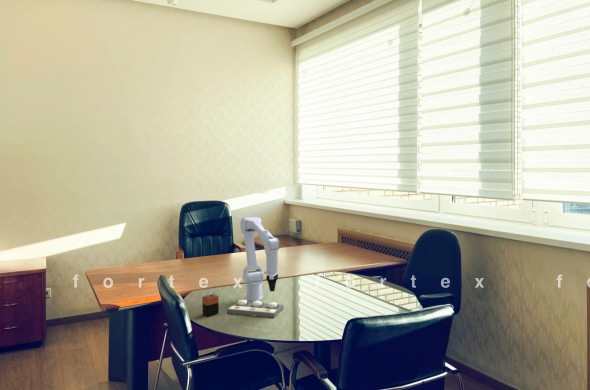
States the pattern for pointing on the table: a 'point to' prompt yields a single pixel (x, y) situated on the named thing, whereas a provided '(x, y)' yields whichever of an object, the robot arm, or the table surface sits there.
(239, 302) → the button
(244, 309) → the button board
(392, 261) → the table surface
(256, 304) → the button
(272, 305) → the button
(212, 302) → the battery
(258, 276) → the robot arm
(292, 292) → the table surface
